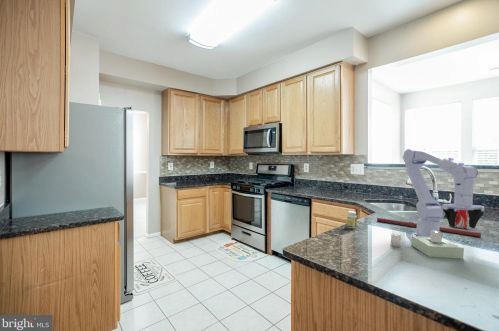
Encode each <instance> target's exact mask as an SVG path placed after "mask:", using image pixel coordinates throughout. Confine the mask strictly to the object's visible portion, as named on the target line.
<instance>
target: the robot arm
mask: <svg viewBox="0 0 499 331" xmlns="http://www.w3.org/2000/svg"><path fill="white" fill-rule="evenodd" d="M402 159H403V162H404V164H405V170H406V172H407V174H408V178H409V180H410V182H411V184H412V187H413V189H414V191H415V194H416V197H417V199H418V201H417V203H416V204H415V207H416V213H417V216H418V217H419V218H418V219H417V221H416V223H417V227H416V231H415V232H414V235H415V236H420V237H431V231H432V230H434V231H440V227H441V221H442V219H443V218H444V217H445V216H446V218H447V221H448V226H449V228H456V227H455V219H456V215H457V213H458V212H456V211H455V210H467V211H468V227H469V228H472V229H476V227H477V224H478V222H479V220H480V219H481V218H482V217H483V216H484V212H485V206H483V205H477V204H473V200H474V181H475V180H474V179H476V178H477V177H478V176H479V170H478V169H477V168H476V167H475V166H474V165H472V164H471V165H470V164H469V165H466V164H465V163H464V162H459V161H457V160H455V158H453V157H445V158H443V157H441V156H439V155H437V154H435V153H433V152H431V151H430V150H426V149H425V148H424V149H412V148H407V149H406V150H405V151H404V153H403V155H402ZM427 162H430V163H433V164H435V165H437V166H438V168H439V169H440V170H442V171H443V172H446V173H448V174H450V175H451V176H452V177H453V182H454V197H453V203H443V204H440V202H439V201H438V200H436V199H434V198H433V196H432V194H431V192H430V190H429V188H428V185H427V183H426V181H425V178H424V175H423V173H422V172H421V168H423V166H424V165H426V164H425V163H427ZM441 205H442V206H441ZM464 208H467V209H464ZM440 232H441V231H440Z"/></svg>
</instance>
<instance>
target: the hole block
mask: <svg viewBox="0 0 499 331" xmlns="http://www.w3.org/2000/svg"><path fill="white" fill-rule="evenodd" d="M411 246H412V247H414V248H415V249H417V250H418V251H420V252H421V253H423V254H424V255H425V256H427V257H429V258H430V257H433V258H448V259H450V258H451V259H461V260H462V259H463V260H464V252H465V248H464V247H463V246H460V245H458V244H456V243H454V242H452V241H450V240H448V239H445V238H444V237H442V244H433V243H431V242H430V237H420V236H418V235H415V236H414V235H412V236H411Z"/></svg>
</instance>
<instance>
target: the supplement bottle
mask: <svg viewBox="0 0 499 331" xmlns="http://www.w3.org/2000/svg"><path fill="white" fill-rule="evenodd" d="M346 218H347V219H346V220H347V221H346V227H347V228H348V229H357V228H358V227H357V224H358V221H357V220H358V216H357V212H356V211H353V210H348V212H347V216H346Z"/></svg>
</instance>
